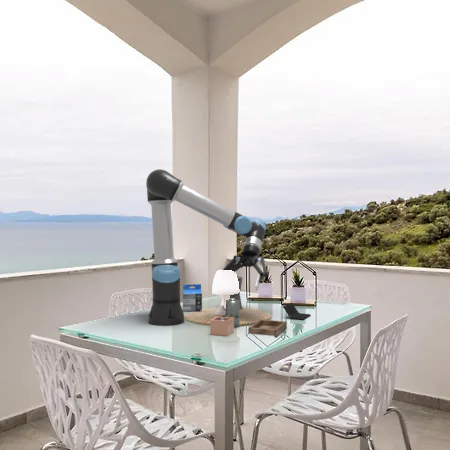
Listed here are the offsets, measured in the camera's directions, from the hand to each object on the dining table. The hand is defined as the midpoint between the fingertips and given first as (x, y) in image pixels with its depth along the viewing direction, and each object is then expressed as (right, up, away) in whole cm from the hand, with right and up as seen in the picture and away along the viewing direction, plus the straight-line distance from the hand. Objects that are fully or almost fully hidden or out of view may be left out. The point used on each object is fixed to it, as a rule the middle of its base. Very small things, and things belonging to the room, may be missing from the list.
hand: (241, 287), depth 217 cm
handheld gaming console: (+25, -15, +11) cm, 31 cm away
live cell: (-4, -15, -9) cm, 18 cm away
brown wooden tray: (+10, -15, -15) cm, 24 cm away
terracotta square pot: (-8, -15, -21) cm, 27 cm away
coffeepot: (-3, -14, +32) cm, 35 cm away
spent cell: (-8, -15, -21) cm, 26 cm away
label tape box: (-22, -14, +25) cm, 36 cm away
